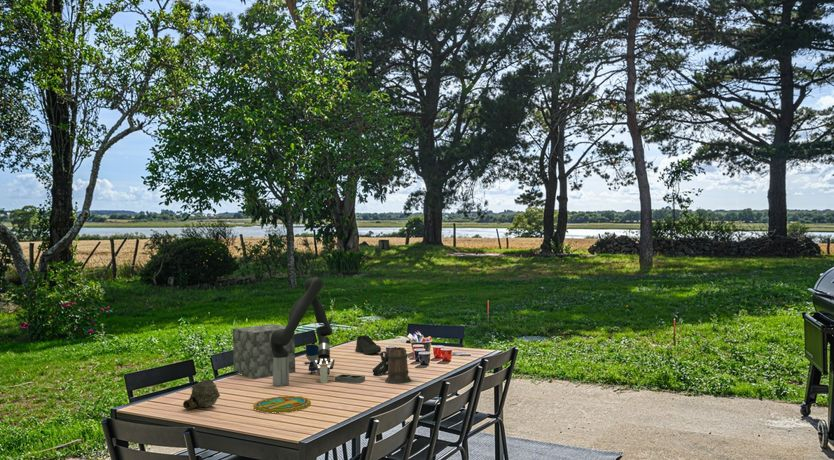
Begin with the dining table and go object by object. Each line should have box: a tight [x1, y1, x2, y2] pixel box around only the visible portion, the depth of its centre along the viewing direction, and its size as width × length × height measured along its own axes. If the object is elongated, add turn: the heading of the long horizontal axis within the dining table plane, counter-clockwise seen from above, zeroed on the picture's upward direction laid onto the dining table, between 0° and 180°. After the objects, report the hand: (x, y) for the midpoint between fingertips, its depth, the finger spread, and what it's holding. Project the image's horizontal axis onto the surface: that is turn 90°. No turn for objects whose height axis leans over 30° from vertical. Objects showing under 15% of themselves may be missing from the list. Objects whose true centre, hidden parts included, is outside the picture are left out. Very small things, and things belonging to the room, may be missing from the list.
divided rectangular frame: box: [334, 373, 366, 384], centre depth 410 cm, size 8×17×3 cm, turn 66°
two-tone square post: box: [320, 363, 328, 384], centre depth 409 cm, size 4×4×11 cm
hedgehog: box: [182, 378, 221, 410], centre depth 353 cm, size 18×14×15 cm
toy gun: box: [371, 352, 389, 377], centre depth 431 cm, size 22×5×15 cm
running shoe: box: [354, 334, 382, 355], centre depth 510 cm, size 11×30×14 cm, turn 40°
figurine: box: [303, 343, 319, 374], centre depth 438 cm, size 13×9×20 cm
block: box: [232, 323, 296, 380], centre depth 445 cm, size 30×30×30 cm
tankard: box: [377, 346, 413, 385], centre depth 409 cm, size 24×17×20 cm
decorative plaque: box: [252, 395, 311, 414], centre depth 352 cm, size 30×3×30 cm
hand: (323, 374), depth 408 cm, fingers open, 4 cm apart
